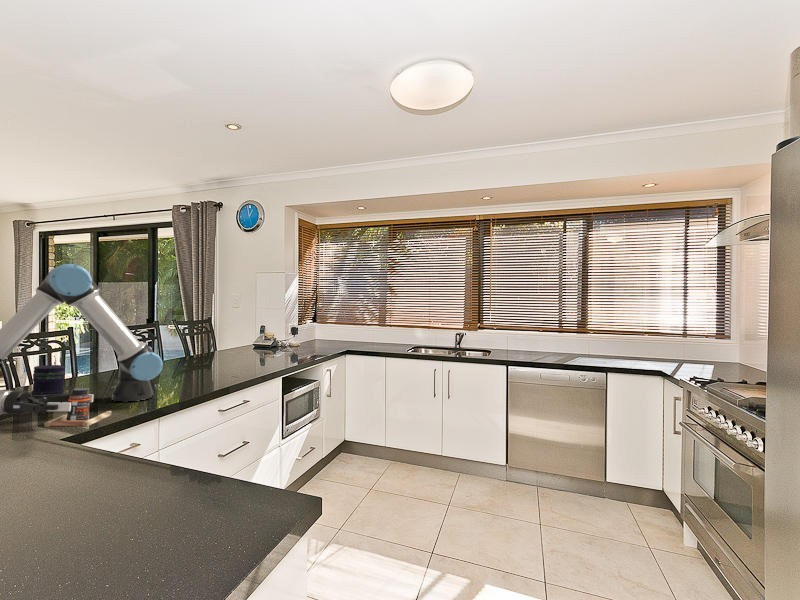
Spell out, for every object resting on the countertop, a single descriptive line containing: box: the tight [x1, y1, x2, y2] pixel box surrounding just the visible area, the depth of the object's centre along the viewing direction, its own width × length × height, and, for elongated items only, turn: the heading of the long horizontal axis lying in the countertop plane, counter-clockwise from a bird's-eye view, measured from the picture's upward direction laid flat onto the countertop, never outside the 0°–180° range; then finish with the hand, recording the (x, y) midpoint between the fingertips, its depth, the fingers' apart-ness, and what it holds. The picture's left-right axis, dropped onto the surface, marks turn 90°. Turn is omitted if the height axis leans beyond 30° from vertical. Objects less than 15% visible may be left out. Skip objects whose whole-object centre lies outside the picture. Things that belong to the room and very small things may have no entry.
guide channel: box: [43, 410, 112, 428], centre depth 140 cm, size 16×12×1 cm
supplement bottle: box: [66, 387, 91, 420], centre depth 139 cm, size 6×6×11 cm
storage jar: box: [30, 364, 66, 403], centre depth 161 cm, size 10×10×15 cm
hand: (82, 402), depth 139 cm, fingers open, 13 cm apart
